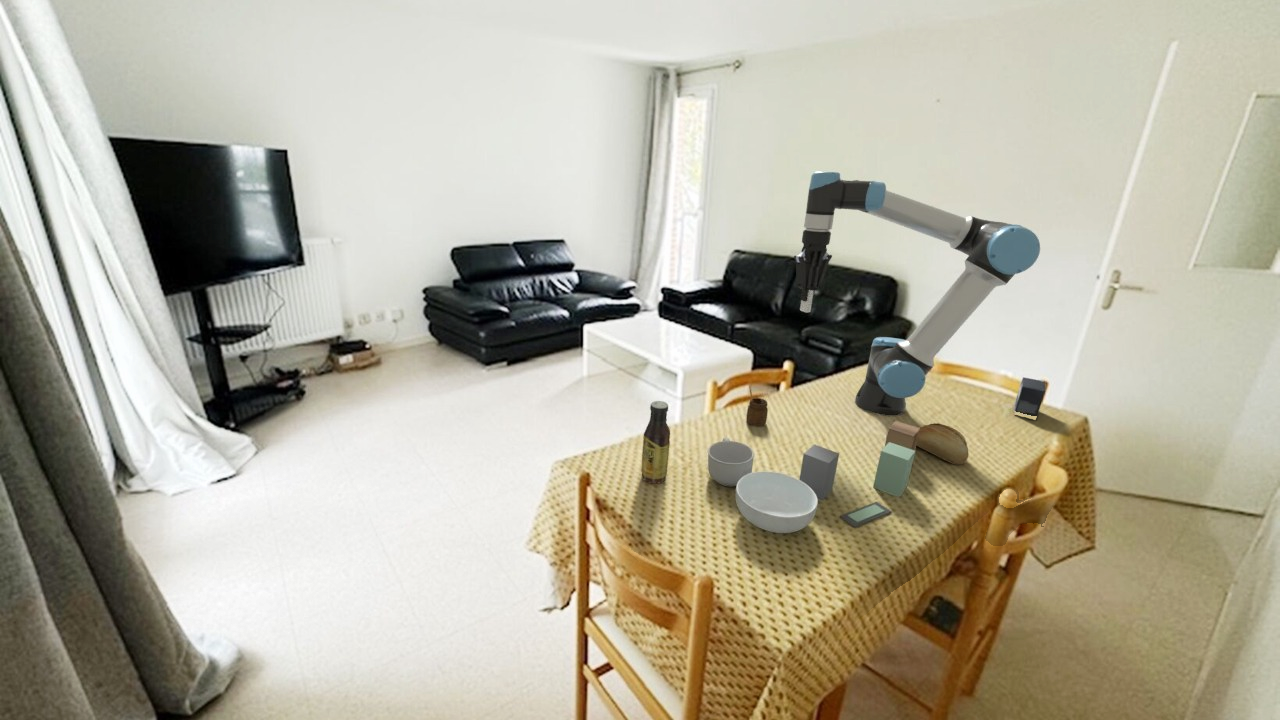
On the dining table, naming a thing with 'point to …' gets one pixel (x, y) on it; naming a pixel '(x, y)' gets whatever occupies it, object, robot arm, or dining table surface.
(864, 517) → the card
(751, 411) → the utensil holder
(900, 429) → the walnut block
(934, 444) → the bread roll
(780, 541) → the dining table surface
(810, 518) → the cereal bowl
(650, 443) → the sauce bottle
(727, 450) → the teacup
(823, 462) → the charcoal block
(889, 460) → the sage block
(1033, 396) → the small box
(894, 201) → the robot arm
